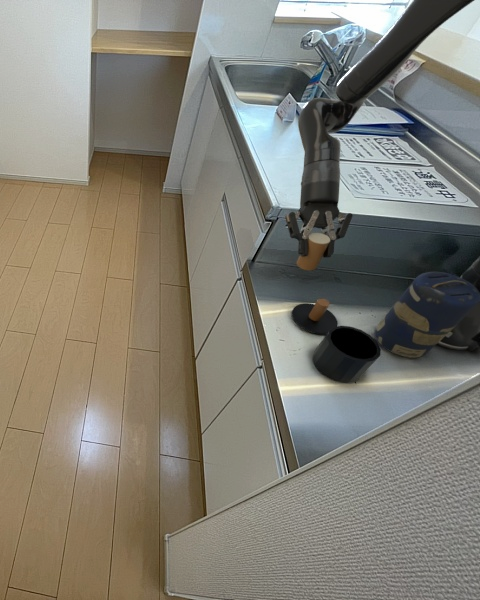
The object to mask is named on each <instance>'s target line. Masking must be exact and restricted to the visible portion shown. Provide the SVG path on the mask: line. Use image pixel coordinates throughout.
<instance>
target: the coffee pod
mask: <svg viewBox="0 0 480 600" xmlns="http://www.w3.org/2000/svg"><path fill="white" fill-rule="evenodd" d="M307 240H308V255H307V256H305V257H301V256H300V255H299V256H298V259H297V260H296V266H297V267H298V268H299V269H302V270H304V271H314V270H316V269H317V267H318V266H319V264H320V261H321V259H322V257H323V254H324V252H325V250H326V248H327V246H328V244H329V242H330V238H329V237H328V236H327V235H325V234H323V233H322V232H310V234H309V236H308V238H307Z"/></svg>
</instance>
